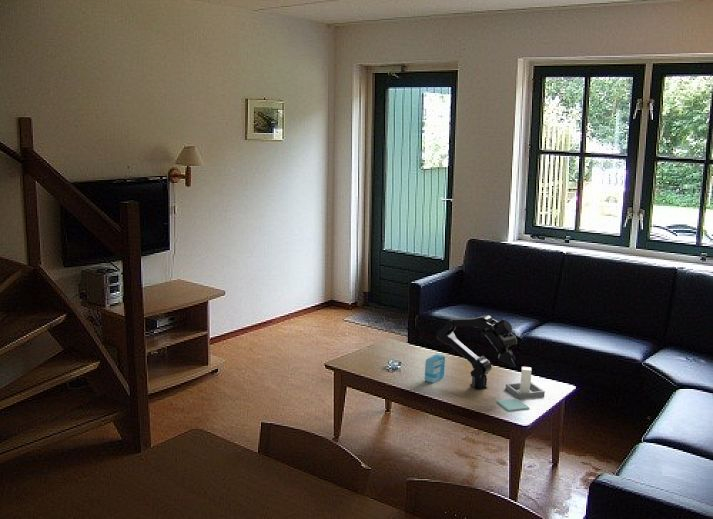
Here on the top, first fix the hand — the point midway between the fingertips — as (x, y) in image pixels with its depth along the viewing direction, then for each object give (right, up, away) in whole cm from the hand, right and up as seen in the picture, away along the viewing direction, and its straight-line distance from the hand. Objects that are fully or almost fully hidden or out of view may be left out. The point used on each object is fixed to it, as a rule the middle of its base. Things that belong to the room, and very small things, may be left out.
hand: (514, 363), depth 341 cm
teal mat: (-4, -18, -14) cm, 23 cm away
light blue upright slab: (-38, -11, +15) cm, 42 cm away
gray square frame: (+5, -15, +2) cm, 16 cm away
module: (+5, -15, +2) cm, 16 cm away
